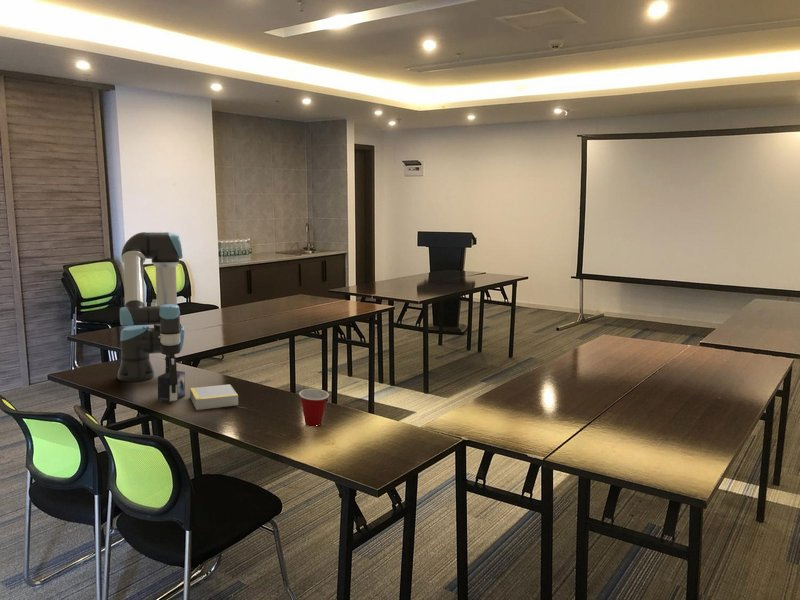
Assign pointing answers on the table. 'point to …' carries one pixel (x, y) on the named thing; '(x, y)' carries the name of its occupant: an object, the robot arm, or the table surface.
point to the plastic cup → (313, 405)
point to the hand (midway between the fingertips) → (171, 395)
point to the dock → (213, 396)
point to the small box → (165, 388)
